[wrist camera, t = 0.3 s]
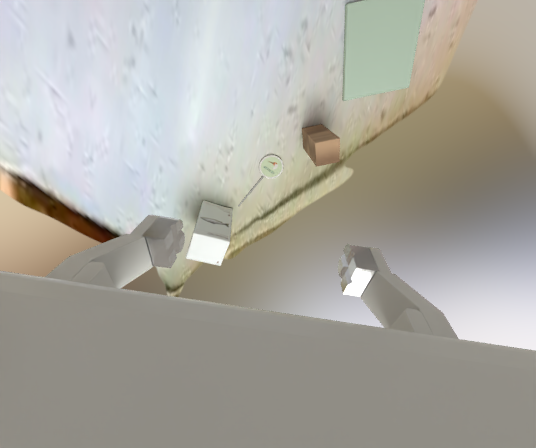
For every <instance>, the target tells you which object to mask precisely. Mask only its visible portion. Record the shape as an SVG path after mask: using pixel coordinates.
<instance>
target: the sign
mask: <svg viewBox="0 0 536 448" xmlns="http://www.w3.org/2000/svg"><path fill="white" fill-rule="evenodd" d="M259 170H260V172H261V174H262V175H263V176H262V177H261V178H260V179H259V181H258V182H257V183H256V184H255V186H254V187H253V188H252V189H251V190H250V192H249V193H248V194H247V195H246V197H245V198H244V199H243V200H242V201H241V203H242V202H243V201H244V200H245V199H246V198H247V196H248V195H249V194H250V193H251V192H252V190H253V189H254V188H255V187H256V186H257V184H258V183H259V182H260V181H261V180H262V178H263V177H266V178H276V177H278V176H279V175H280V174H281V173H282V171H283V162H282V160H281V159H280V158H279V157H278V156H276V155H267V156H265V157H264V158H262V160H261V161H260V164H259ZM241 203H240V204H239V205H238V206H240V205H241Z"/></svg>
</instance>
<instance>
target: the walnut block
mask: <svg viewBox="0 0 536 448" xmlns="http://www.w3.org/2000/svg"><path fill="white" fill-rule="evenodd" d="M302 135H303V148H304V150H305V151H306V153H307V154H308V155H309V157H310V158H311V160H312V161H313V162H314V164H315V165H316V166H321V165H326V164H331V163H336V162H339V152H340V138H339V137H338V136H336V135H335V134H334V133H332V132H331V131H330V130H329V129H327V128H326V127H325V126H324V125H322V124H321V125H316V126H311V127H306V128H302Z"/></svg>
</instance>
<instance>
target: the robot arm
mask: <svg viewBox="0 0 536 448" xmlns="http://www.w3.org/2000/svg"><path fill="white" fill-rule="evenodd" d="M182 228H183V223H182V220H180V219H175V218H169V217H163V216H156V215H148V216H147V217H146V218H145V219H144V220H143V221H142V222H141V223H140V224H139V225H138V226H137V227H136V228H135V229H134V230H133V231H132V233H131V234H125V235H123V236H120V237H118V238H115V239H113V240H110V241H107V242H105V243H102V244H100V245H97V246H95V247H92V248H90V249H87V250H84V251H82V252H79V253H77V254H74V255H72V256H69V257H68V258H67V259H65V260H64V261H63V262H62V263H61V264H60V265H58V266H57V267H56V268H55V269H54V270H53V271H52V272H50V273H49V274H48V275H47V276H46V277H39V276H32V275H25V274H19V273H12V272H5V271H0V448H536V351H534V350H527V349H521V348H514V347H507V346H500V345H493V344H487V343H480V342H474V341H467V340H460V339H458V337H457V335H456V334H455V332H454V331H453V329H452V327H451V326H450V324H449V322H448V321H447V319H446V317H445V316H444V314H443V313H442V312H441V311H440V310H439V309H437V308H436V307H435V306H434V305H433V304H431V303H430V302H429V301H427V300H426V299H425V298H424V297H423V296H421V295H420V294H419V293H418V292H416V291H415V290H414V289H413V288H411V287H410V286H409V285H408V284H407V283H405V282H404V281H403V280H402V279H400V278H399V277H398V276H397V275H395V274H392V273H391V271H390V269H389V267H388V265H387V263H386V261H385V259H384V257H383V255H382V253H381V250H380V249H378V248H371V247H362V246H355V245H346V247H345V249H344V255H343V256H341V257H340V260H339V264H338V273H339V276H340V277H341V278H342V281H341V287H342V291H343V294H347V295H353V296H358V297H361V299H362V300H363V301H364V303H365V304H366V305H367V306H368V308H369V309H370V310H371V311H372V313H373V314H374V315H375V316H376V318H377V319H378V320H379V321H380V323H381V324H382V325H383V326H384V328H380V327H373V326H366V325H359V324H353V323H346V322H340V321H333V320H327V319H320V318H313V317H306V316H299V315H293V314H286V313H279V312H273V311H266V310H259V309H253V308H246V307H240V306H233V305H226V304H219V303H213V302H205V301H199V300H193V299H186V298H179V297H173V296H166V295H158V294H153V293H146V292H139V291H133V290H126V289H120V288H122V287H123V286H125V285H126V284H128V283H129V282H131V281H132V280H134V279H135V278H137V277H138V276H140V275H141V274H143V273H144V272H146V271H147V270H149V269H150V268H152V267H153V266H158V267H166V268H171V267H172V265H173V263H174V262H175V260H176V258H177V257H176V254H177V253H179V252H181V250H182V248H183V245H184V241H185V236H184V233H183V232H182V231H181V229H182Z"/></svg>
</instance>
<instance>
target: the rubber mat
mask: <svg viewBox="0 0 536 448" xmlns="http://www.w3.org/2000/svg"><path fill="white" fill-rule="evenodd" d="M424 2H425V0H363V1H359V2H354V3H350V4H346V5H345V34H344V68H343V101H346V100H351V99H356V98H361V97H365V96H370V95H375V94H380V93H385V92H389V91H394V90H399V89H404V88H409V84H410V78H411V73H412V68H413V62H414V57H415V51H416V46H417V40H418V35H419V29H420V24H421V19H422V13H423V8H424Z"/></svg>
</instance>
